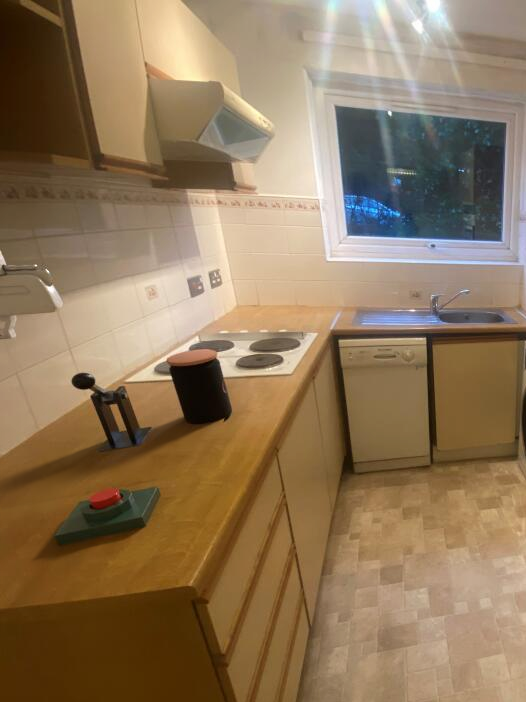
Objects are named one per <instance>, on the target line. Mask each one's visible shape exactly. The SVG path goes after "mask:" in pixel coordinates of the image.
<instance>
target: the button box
mask: <svg viewBox="0 0 526 702" xmlns="http://www.w3.org/2000/svg"><path fill="white" fill-rule="evenodd" d="M117 489H118V488H117ZM118 490H119V493H120V495H121V500H120V501H118V502H117V503H116V504H114V505H111V506H109V507H106V508H102V509H93V508H92V506H91V503H90V501H89V499H86V500H81V501H79V502H78V503H77V505H76V506H75V507H74V508H73V509H72V511H71V512H70V514H69V515H68V517H67V518H66V519H65V521H63V523H62V524H61V526H59V528H58V530H57V531H56V532H55V534H54V535H53V537H54V540H55V541H56V543H57V545H58V546H65V545H69V544H72V543H78V542H82V541H86V540H92V539H96V538H101V537H104V536H105V537H106V536H110V535H113V534H118V533H123V532H127V531H132V530H136V529H141V528H146V527H147V525H148V523H149V521H150V518H151V517H152V516H153V515H152V514H153V513H154V510H155V508H156V506H157V504H158V502H159V500H160V498H161V496H162V494H161V492H160V488H159V486H158V485H157V486H151V487H147V488H142V489H141V488H140V489H136V490H132V491H130V490H129V489H123V488H122V489H121V488H119V489H118Z"/></svg>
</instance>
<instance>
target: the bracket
mask: <svg viewBox="0 0 526 702" xmlns="http://www.w3.org/2000/svg"><path fill="white" fill-rule="evenodd" d="M101 388H102V389H104V388H103V387H101ZM113 391H114V392H113V396H114V398H115V401H116V403H117V404H116V406H117V409H118V411H119V414H120V416H121V419H122V422H123V424H124V427H125V429H126V430H120V428H119V425H118V422H117V420H116V418H115V415H114V413H113V410H112V407H111V405H107V404H105V403H103V402H102V401H101V396H100V395H98V394H97V393H95V392H93V393H92V394H90V396H89V397H90V399H91V402H92V404H93V407H94V410H95V411H96V414H97V417H98V419H99V422H100V424H101V427H102V429H103V432H104V434H105V436H106V440H105V441H104V443H103V444H102V445H101V446H100V447H99V449H97V451H96V453H103V452H108V451H109V452H110V451H115V450H120V449H126V448H127V449H128V448H131V447H138V446H141V445H142V444H143V442H144V440H145V439H146V437H147V436H148V434H149V433H150V431H151V430H152V429H153V426H147V427H140V424H139V422H138V419H137V416H136V413H135V410H134V408H133V405H132V402H131V400H130V397H129V394H128V390H127V388H126V386H125V385H120V386H118V387H117V388H116V389H115V390H113Z"/></svg>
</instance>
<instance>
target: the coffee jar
mask: <svg viewBox="0 0 526 702" xmlns="http://www.w3.org/2000/svg"><path fill="white" fill-rule="evenodd" d="M217 357H218V352H217V350H215V349H208V348H207V349H204V348H203V349H192V350H187V351H181V352H178V353H175V354H172V355H170V356H169V357H167V358H166V363H167V364H168V365H169V366H170V367H169V374H170V377H171V380H172V382H173V386H174V390H175V393H176V396H177V399H178V402H179V405H180V408H181V411H182V415H183V419H184V421H185V422H186V423H187V424H190V425H205V424H211V423H214V422H218V421H220V420H223V422H225V421H227V420H229V418H230V417H231V415H232V413H233V407H232V403H231V399H230V397H229V392H228V389H227V384H226V380H225V378H224V373H223V370H222V366H221V362H220V360H219V359H217Z"/></svg>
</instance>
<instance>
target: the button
mask: <svg viewBox="0 0 526 702" xmlns="http://www.w3.org/2000/svg"><path fill="white" fill-rule="evenodd" d="M88 500H89V501H90V503H91V506H92V508H93V509H102V508H106V507H109V506H111V505H114V504H116V503H117V502H118V501H120V500H121V495H120V493H119V490H118V488H115V487H110V488H105V489H101V490H99V491H97V492H95V493H93V494H92V495H91V496H90V497H89V498H88Z"/></svg>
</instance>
